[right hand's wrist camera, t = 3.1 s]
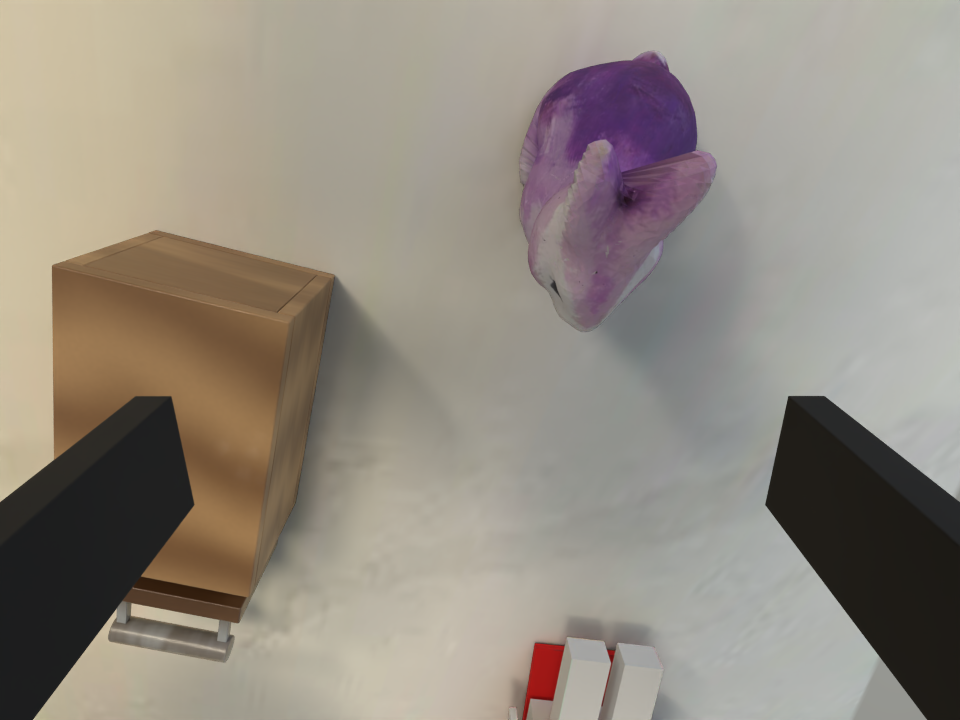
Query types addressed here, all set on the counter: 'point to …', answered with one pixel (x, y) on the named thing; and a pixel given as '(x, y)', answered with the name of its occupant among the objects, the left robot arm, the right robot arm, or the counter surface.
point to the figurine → (608, 182)
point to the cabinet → (198, 383)
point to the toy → (591, 682)
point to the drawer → (180, 636)
